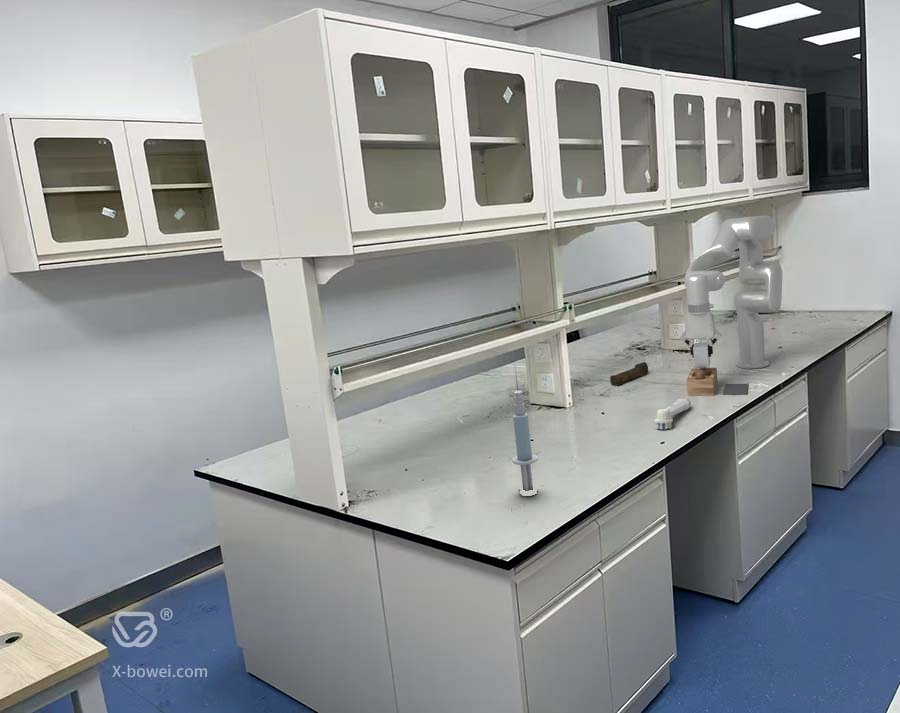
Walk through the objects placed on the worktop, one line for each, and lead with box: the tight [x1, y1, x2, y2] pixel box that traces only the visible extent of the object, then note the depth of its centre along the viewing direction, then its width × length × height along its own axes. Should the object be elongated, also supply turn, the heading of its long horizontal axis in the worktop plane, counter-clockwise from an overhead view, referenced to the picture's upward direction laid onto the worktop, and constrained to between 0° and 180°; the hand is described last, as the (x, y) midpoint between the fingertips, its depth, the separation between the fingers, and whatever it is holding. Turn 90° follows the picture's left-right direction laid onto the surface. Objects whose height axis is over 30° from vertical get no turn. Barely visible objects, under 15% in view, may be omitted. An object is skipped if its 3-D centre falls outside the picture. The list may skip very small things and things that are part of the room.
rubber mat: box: [722, 382, 749, 396], centre depth 260 cm, size 14×8×1 cm, turn 156°
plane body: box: [686, 367, 718, 397], centre depth 264 cm, size 18×9×10 cm, turn 156°
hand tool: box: [609, 361, 649, 387], centre depth 291 cm, size 23×5×6 cm, turn 127°
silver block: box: [693, 341, 711, 368], centre depth 263 cm, size 7×5×8 cm
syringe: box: [511, 366, 539, 491], centre depth 186 cm, size 6×7×36 cm
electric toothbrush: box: [653, 397, 691, 430], centre depth 235 cm, size 5×7×25 cm
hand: (701, 355), depth 263 cm, fingers closed on silver block, 5 cm apart
